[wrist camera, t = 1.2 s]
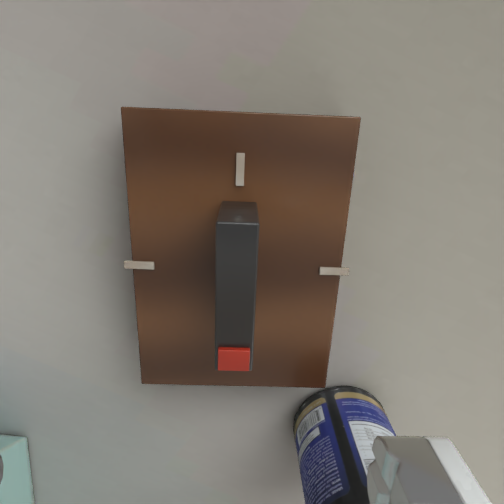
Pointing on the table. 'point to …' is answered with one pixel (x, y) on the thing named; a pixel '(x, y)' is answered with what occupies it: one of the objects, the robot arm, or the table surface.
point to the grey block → (235, 284)
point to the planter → (15, 471)
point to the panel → (204, 237)
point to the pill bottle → (338, 444)
